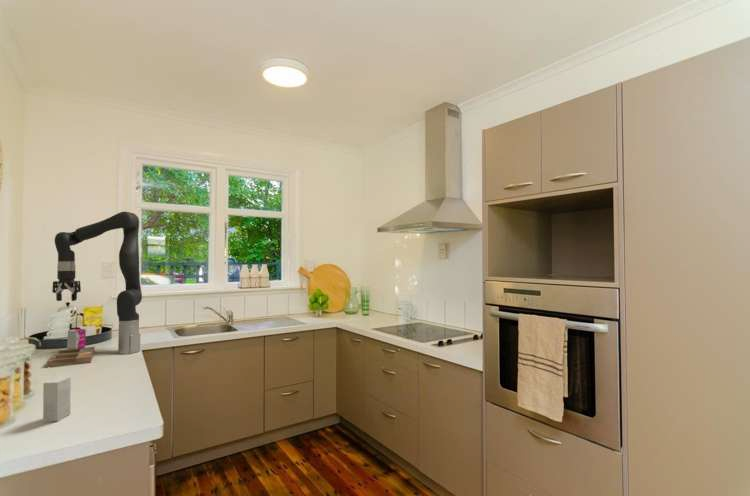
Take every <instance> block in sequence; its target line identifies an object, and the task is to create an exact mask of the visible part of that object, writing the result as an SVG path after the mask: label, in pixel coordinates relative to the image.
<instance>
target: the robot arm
mask: <svg viewBox="0 0 750 496" xmlns="http://www.w3.org/2000/svg"><path fill="white" fill-rule="evenodd" d="M117 229H122V230H123V239H122V243H121V246H120V249H119V252H118V264H119V265H118V266H119V269H120V271H121V273H122V275H123V278H124V282H125V290H123V291H121V292H119V293H118V295H117V297H116V314H117V317H118V336H117V337H118V343H117V346H118V347H117V351H118V352H117V353H118V354H119V355H129V354H135V353H138V352H141V333H140V315H139V313H138V312H137V311H136V307H137V306H138V305H140V303H141V302H142V300H143V299H142V298H143V293H142V287H141V280H140V276H141V275H140V252H139V251H140V250H139V231H140V230H139V229H140V219H139V216H138V215H137V214H135V213H133V212H130V211H120V212H118V213H115V214H114V215H112V216H109V217H108V218H105V219H103V220H101V221H97V222H94V223H91V224H88V225H84V226H81V227H79V228H76V229H75V230H74V231H72V232H71V231H70V232H67V231H60V232H58V233H56V235H55V236H54V245H55V249H56V252H57V268H56V269H57V271H56V272H57V275H56V276H57V280H56V281H54V280H53V281H52V293H54V294H56V298H55V299H56V301H57V302H61V301H62V300H63V294H62V293H63V292H64V291H65V290H68V291H69V292H70V293H71V294H70V295H71V301H72V302H74V301H77V299H78V293H81V291H82V287H81V281H80V280H75V279H76V255H75V251H74V250H73V249H72V248H71V246H75V245H78V244H81V243H83V242H84V241H87V240H88V241H89V240H91V239H94V238H97V237H99V236H101V235H103V234H104V233H106V232H109V231H112V230H117Z"/></svg>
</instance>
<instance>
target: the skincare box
mask: <svg viewBox="0 0 750 496" xmlns="http://www.w3.org/2000/svg"><path fill="white" fill-rule="evenodd" d="M71 378H72V377H71V376H59V377H57V376H56V377H55V378H51V379H50V380H47V381H45V382H43V393H42V397H43V399H42V401H43V403H42V405H43V406H42V407H43V408H42V409H43V410H42V411H43V412H42V419H43V420H42V423H51V422H50V421H57V422H59V421H61V420H63V419H64V418H66V417H68V416H69V415H71V395H72V394H71V389H72V388H71V384H72V383H71V381H72V379H71ZM67 415H68V416H67ZM60 419H61V420H60Z"/></svg>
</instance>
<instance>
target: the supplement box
mask: <svg viewBox="0 0 750 496" xmlns="http://www.w3.org/2000/svg"><path fill="white" fill-rule="evenodd" d="M86 333H87V330H86V329H85V328H83V329H82V328H74V329H70V330H67V344H66V350H67V349H77V348H86Z"/></svg>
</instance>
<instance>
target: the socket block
mask: <svg viewBox="0 0 750 496" xmlns="http://www.w3.org/2000/svg"><path fill="white" fill-rule="evenodd" d="M94 354H95V346H89V347H85V348H77V349H67V348H66V349H58V350H55V352H54V353H53V354H52V355H51V356H50V358H49V359H48V360H47V368H48V367H50V368H57V367H65V366H66V367H67V366H75V365H84V364H91V363H92V360H93V358H94V357H93V356H94ZM48 369H49V368H48Z"/></svg>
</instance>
